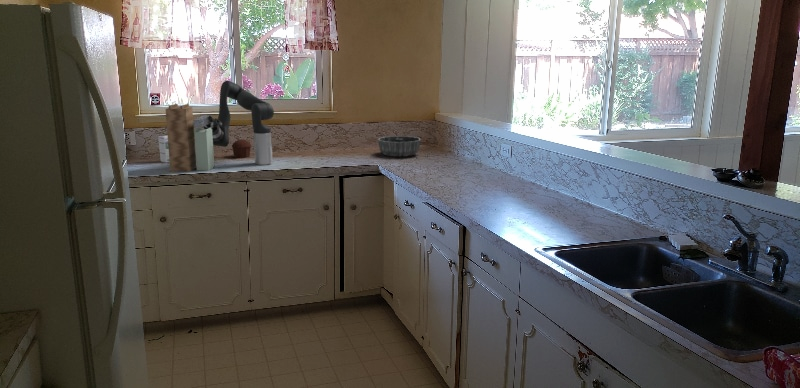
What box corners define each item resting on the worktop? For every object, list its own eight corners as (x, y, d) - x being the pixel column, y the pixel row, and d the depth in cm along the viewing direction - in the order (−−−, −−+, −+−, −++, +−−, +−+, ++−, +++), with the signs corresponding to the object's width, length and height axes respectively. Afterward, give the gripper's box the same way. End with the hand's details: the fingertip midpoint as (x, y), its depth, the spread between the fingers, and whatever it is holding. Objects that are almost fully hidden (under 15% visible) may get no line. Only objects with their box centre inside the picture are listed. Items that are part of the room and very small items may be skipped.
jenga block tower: (196, 166, 324) (192, 103, 317) (190, 171, 313) (185, 106, 305) (177, 166, 324) (172, 103, 316) (170, 171, 312) (165, 105, 304)
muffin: (247, 158, 350) (246, 141, 348) (229, 158, 352) (228, 140, 349) (255, 155, 361) (254, 138, 359) (237, 154, 363) (236, 138, 361)
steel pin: (211, 122, 326) (211, 114, 325) (201, 127, 306) (201, 119, 305) (204, 122, 325) (203, 114, 325) (193, 127, 306) (193, 119, 305)
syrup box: (166, 162, 335) (164, 136, 331) (160, 161, 338) (158, 135, 335) (175, 161, 339) (173, 135, 336) (169, 160, 343) (167, 134, 339)
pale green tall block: (214, 166, 327) (212, 127, 322) (209, 170, 315) (206, 129, 310) (202, 166, 326) (200, 126, 321) (196, 170, 315) (193, 129, 310)
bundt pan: (370, 156, 362) (370, 140, 360) (387, 150, 386) (387, 134, 384) (411, 160, 353) (411, 143, 350) (426, 153, 376) (427, 137, 374)
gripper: (200, 123, 337) (191, 110, 320) (226, 123, 337) (219, 110, 321) (199, 135, 335) (190, 123, 318) (225, 135, 335) (218, 123, 319)
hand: (205, 117), depth 320 cm, fingers closed on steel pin, 4 cm apart
